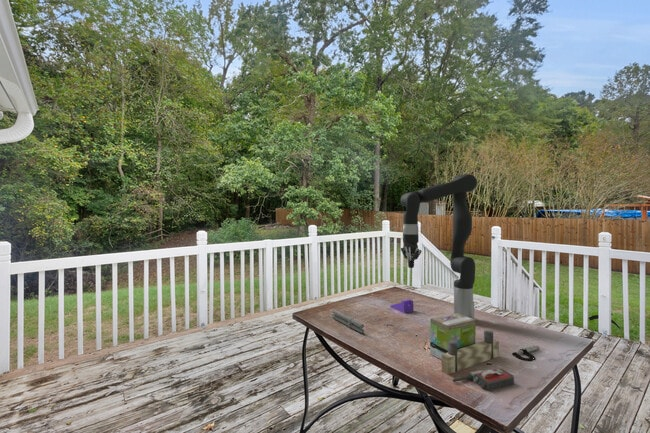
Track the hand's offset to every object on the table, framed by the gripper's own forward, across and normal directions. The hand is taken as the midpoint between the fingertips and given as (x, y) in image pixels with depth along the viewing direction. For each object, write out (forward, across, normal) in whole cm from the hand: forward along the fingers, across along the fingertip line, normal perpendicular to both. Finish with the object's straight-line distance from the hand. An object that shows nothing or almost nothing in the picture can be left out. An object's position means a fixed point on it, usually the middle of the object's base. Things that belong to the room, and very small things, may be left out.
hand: (411, 267), depth 161 cm
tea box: (+29, -33, +8) cm, 45 cm away
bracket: (+30, +22, -12) cm, 39 cm away
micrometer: (+30, -48, -18) cm, 59 cm away
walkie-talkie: (+30, -52, +16) cm, 62 cm away
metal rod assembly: (+29, +16, +28) cm, 43 cm away
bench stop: (+29, -41, +8) cm, 51 cm away
